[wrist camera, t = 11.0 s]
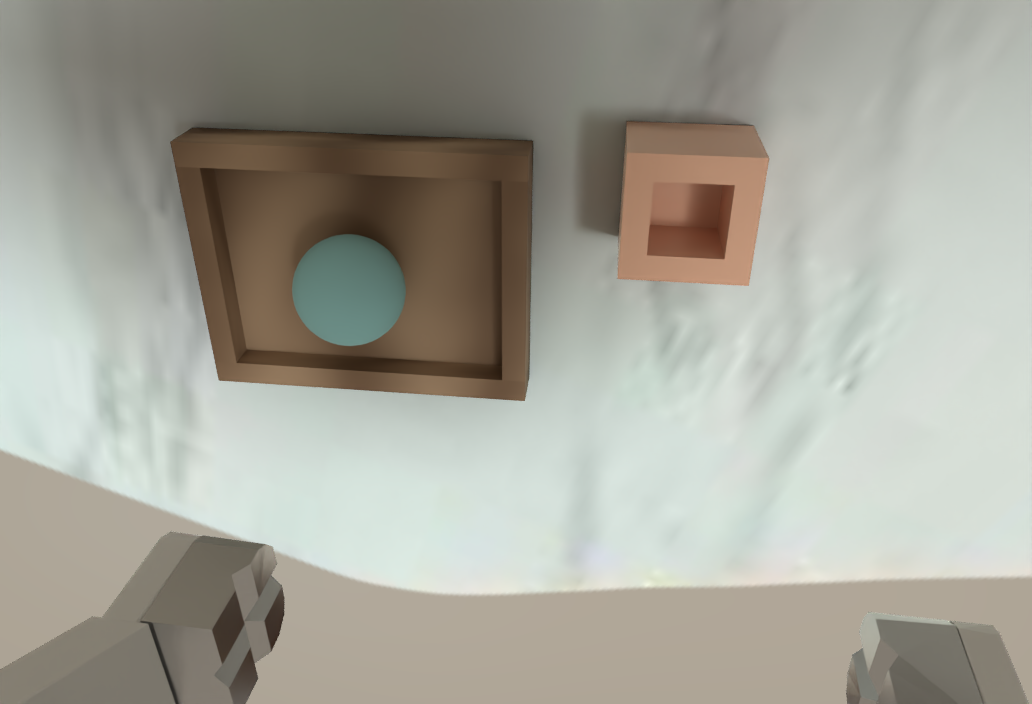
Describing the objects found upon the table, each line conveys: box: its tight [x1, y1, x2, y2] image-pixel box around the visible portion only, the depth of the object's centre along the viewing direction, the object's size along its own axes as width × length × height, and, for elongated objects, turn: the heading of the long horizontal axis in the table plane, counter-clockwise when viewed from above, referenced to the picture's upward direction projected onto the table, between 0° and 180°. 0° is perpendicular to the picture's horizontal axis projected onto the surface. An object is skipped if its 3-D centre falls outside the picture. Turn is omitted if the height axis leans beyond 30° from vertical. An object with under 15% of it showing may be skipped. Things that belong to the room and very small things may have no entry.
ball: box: [292, 234, 406, 346], centre depth 34 cm, size 4×4×4 cm
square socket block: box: [617, 121, 769, 286], centre depth 32 cm, size 5×5×4 cm
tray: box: [170, 128, 533, 401], centre depth 36 cm, size 14×11×2 cm
